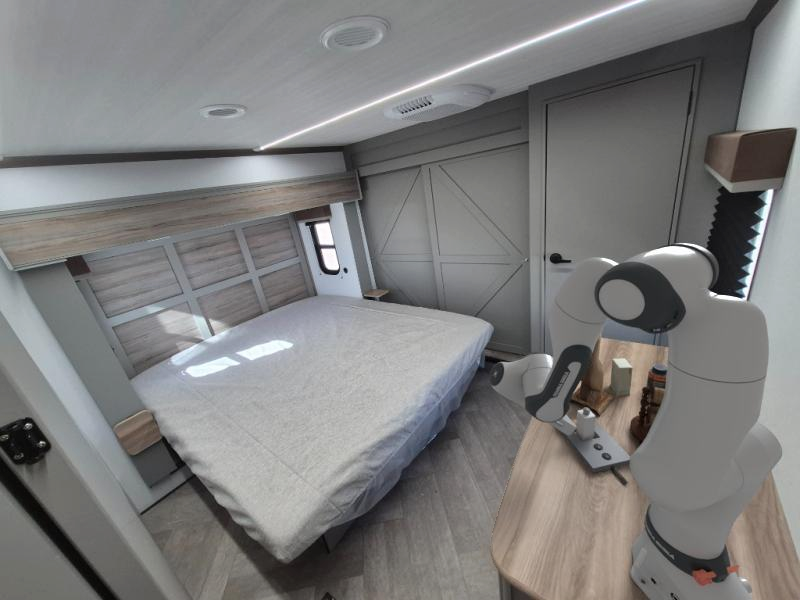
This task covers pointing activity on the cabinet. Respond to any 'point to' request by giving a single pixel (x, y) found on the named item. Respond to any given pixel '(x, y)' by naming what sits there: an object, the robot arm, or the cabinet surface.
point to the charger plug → (585, 424)
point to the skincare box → (621, 376)
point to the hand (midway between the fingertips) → (563, 414)
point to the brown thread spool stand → (647, 412)
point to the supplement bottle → (657, 376)
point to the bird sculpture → (593, 384)
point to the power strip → (599, 451)
